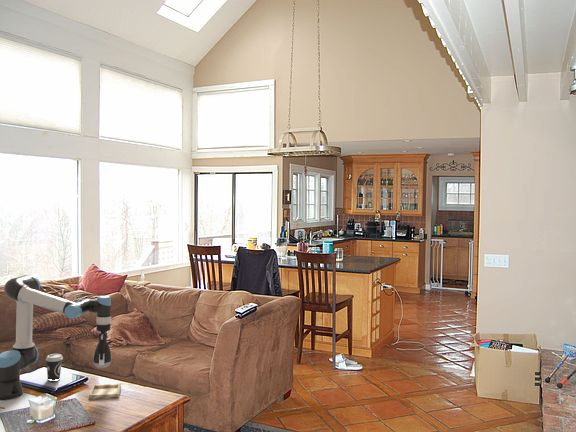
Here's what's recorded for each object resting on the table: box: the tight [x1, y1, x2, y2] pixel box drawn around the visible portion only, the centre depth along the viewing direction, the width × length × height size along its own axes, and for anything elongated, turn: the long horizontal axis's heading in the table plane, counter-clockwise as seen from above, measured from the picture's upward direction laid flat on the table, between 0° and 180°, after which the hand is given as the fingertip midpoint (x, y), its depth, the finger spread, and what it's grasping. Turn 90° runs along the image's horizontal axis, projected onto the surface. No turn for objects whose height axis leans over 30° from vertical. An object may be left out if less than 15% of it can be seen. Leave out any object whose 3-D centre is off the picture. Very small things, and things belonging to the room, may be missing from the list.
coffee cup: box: [45, 353, 64, 380], centre depth 313 cm, size 10×10×15 cm
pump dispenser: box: [92, 340, 113, 369], centre depth 295 cm, size 10×10×15 cm
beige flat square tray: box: [88, 383, 122, 401], centre depth 297 cm, size 16×16×2 cm
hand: (102, 361), depth 295 cm, fingers closed on pump dispenser, 10 cm apart
